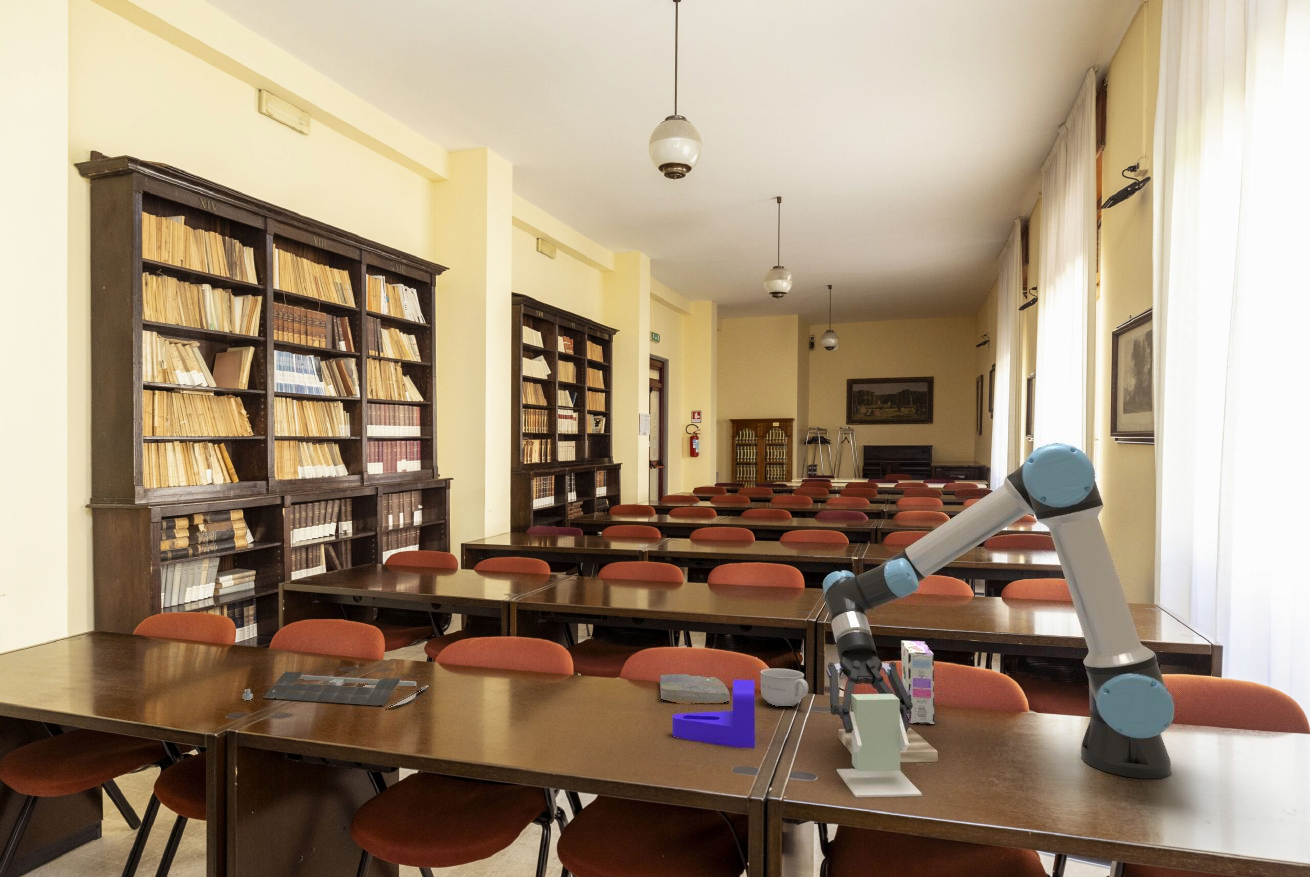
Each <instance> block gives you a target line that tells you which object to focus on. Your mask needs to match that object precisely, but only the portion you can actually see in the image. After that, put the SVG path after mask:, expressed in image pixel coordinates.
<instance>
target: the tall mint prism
mask: <svg viewBox="0 0 1310 877" xmlns="http://www.w3.org/2000/svg"><path fill="white" fill-rule="evenodd" d="M894 694H895V693H894ZM894 694H879V693H858V694H857V693H853V694H851V705H850V710H851V711H850V712H854V714H855V719H856V723H857V727H858V731H859V735H860V739H861V743H862V747H861V749H860V751H859V752H855V751H854V747H853V743H852V754H851V765H852V766H853V767H854V769H856V770H857V771H901V762H900V699H899V698H897V697H896V695H894Z"/></svg>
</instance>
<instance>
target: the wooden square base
mask: <svg viewBox="0 0 1310 877" xmlns="http://www.w3.org/2000/svg"><path fill="white" fill-rule="evenodd" d="M906 735H907V738H908V742H909V746H908V748H907V750H906V752H901V748H900V763H932V762H933V763H935V762H936V763H937V762H939V755H938V750H937V749H936V748H935V747H933V746H932V745H931V744H930V743H929V742H928V741H926V740H925V739H924V738H923V737H922V736H921V735H920V734H918V732H916V731H915V730H914V729H912V727H909V728H908V730H907V732H906ZM838 740H839V742H841V743H842V744H843V745H844V747H845V748H846V750H847V751H848V752H849V753H850V754H851V755H852V738H851V734H850V733H846V732H845V729H844V728H842V729H841V728H839V729H838Z"/></svg>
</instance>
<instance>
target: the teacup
mask: <svg viewBox="0 0 1310 877" xmlns="http://www.w3.org/2000/svg"><path fill="white" fill-rule="evenodd" d="M804 676H805V674H804V673H803V672H801V671H799V670H794V669H790V668H765V669H761V670H760V692H761V696H762V698H763V699H764V700H765V701H766V703H768V704H769V703H770V704H772V705H771V706H773V705H775V706H774V707H778V706H792V707H795V706H796V705H797V704H798V703H799V702H801V701H802V698H804V697H806V696H807V695H808V694H809V693H808V692H809V684H808V682H807V680H806V679H804ZM770 704H769V705H770Z"/></svg>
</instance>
